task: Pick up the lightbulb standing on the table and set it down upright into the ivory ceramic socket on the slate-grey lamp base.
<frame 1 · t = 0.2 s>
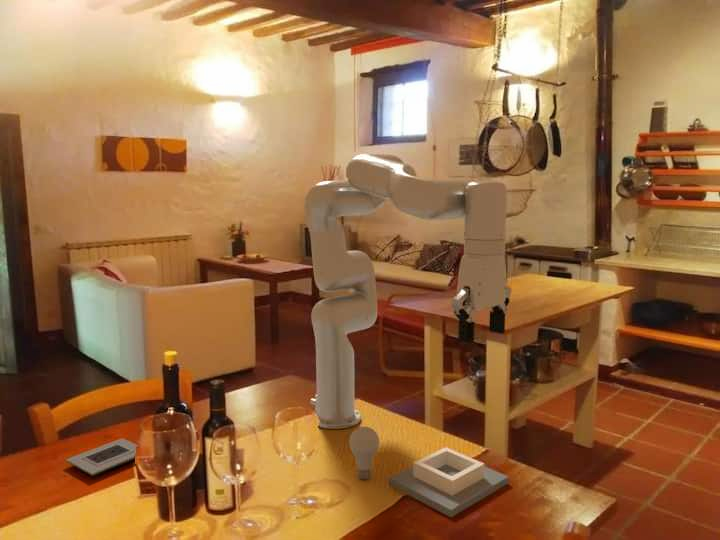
hand: (481, 336, 115), 31 cm above the table, tool pointing down, fingers open, 9 cm apart
lamp base: (448, 483, 121), on the table
electrical outlet: (108, 464, 131), on the table
lightbulb: (364, 479, 123), on the table
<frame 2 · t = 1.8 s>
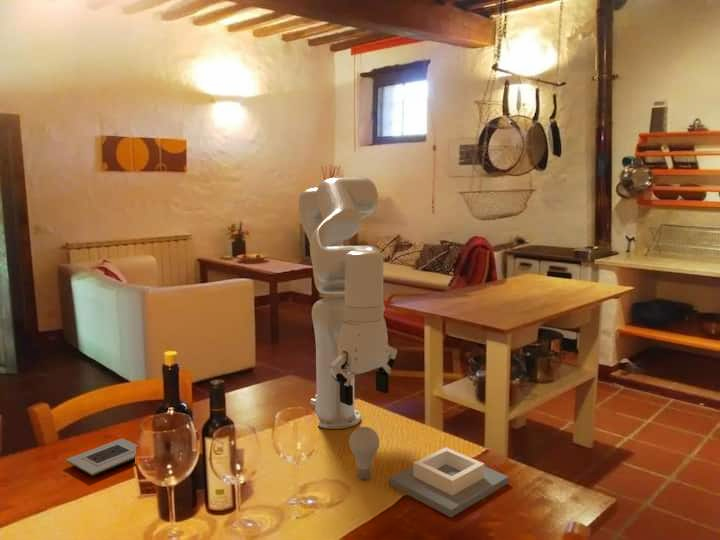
hand: (364, 397, 120), 18 cm above the table, tool pointing down, fingers open, 9 cm apart
nothing on the table moved.
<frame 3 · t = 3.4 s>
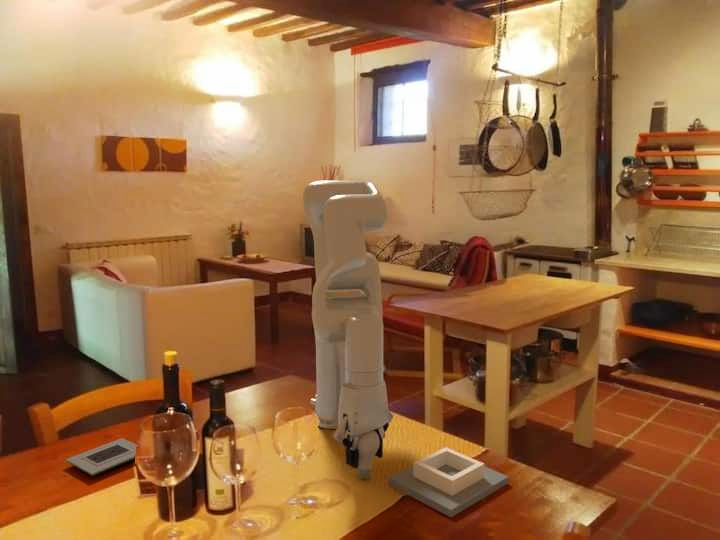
hand: (364, 459, 123), 4 cm above the table, tool pointing down, fingers closed on lightbulb, 6 cm apart
lightbulb: (364, 479, 123), on the table, touching gripper
everything else where it was.
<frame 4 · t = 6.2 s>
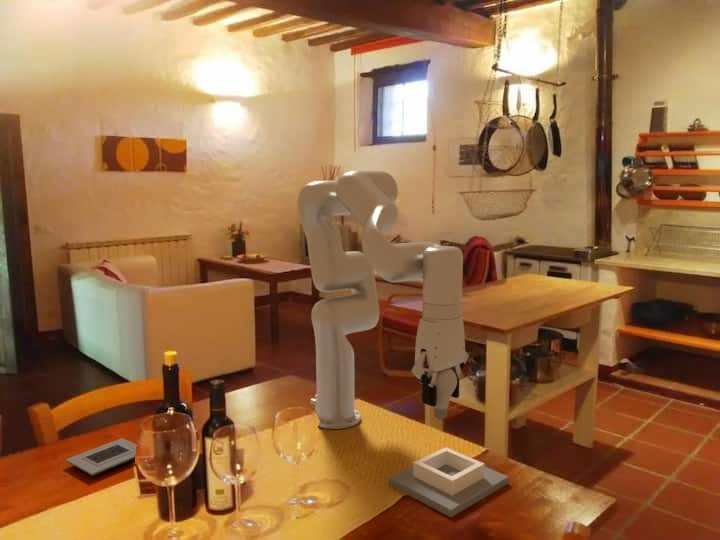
hand: (440, 399, 118), 18 cm above the table, tool pointing down, fingers closed on lightbulb, 6 cm apart
lightbulb: (440, 420, 119), point 13 cm above the table, touching gripper
everything else where it was.
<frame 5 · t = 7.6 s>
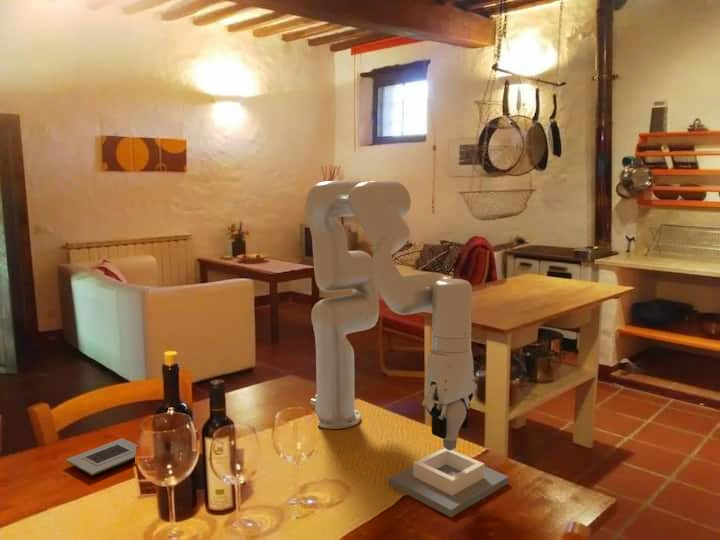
hand: (450, 430, 119), 11 cm above the table, tool pointing down, fingers closed on lightbulb, 6 cm apart
lightbulb: (449, 450, 120), point 7 cm above the table, touching gripper
everything else where it was.
when the fingers open (6 cm above the table, at t = 8.9 s): lightbulb stays where it is, resting on lamp base.
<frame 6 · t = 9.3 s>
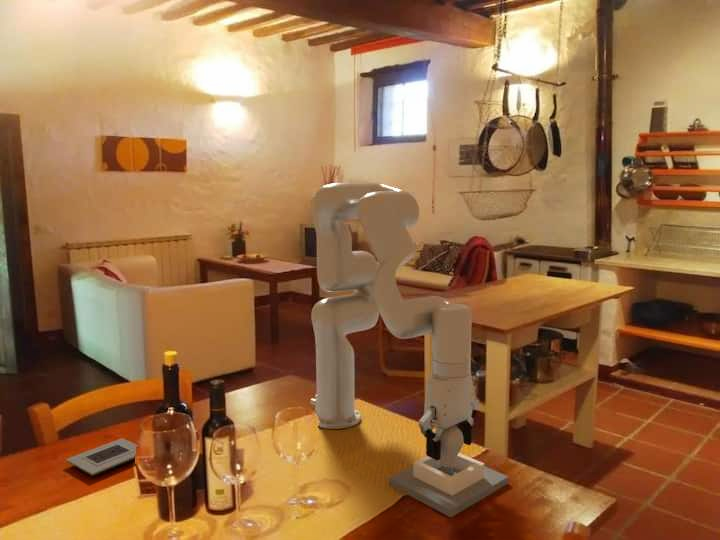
hand: (449, 450, 120), 7 cm above the table, tool pointing down, fingers open, 9 cm apart
lightbulb: (447, 477, 121), point 1 cm above the table, touching lamp base
everything else where it was.
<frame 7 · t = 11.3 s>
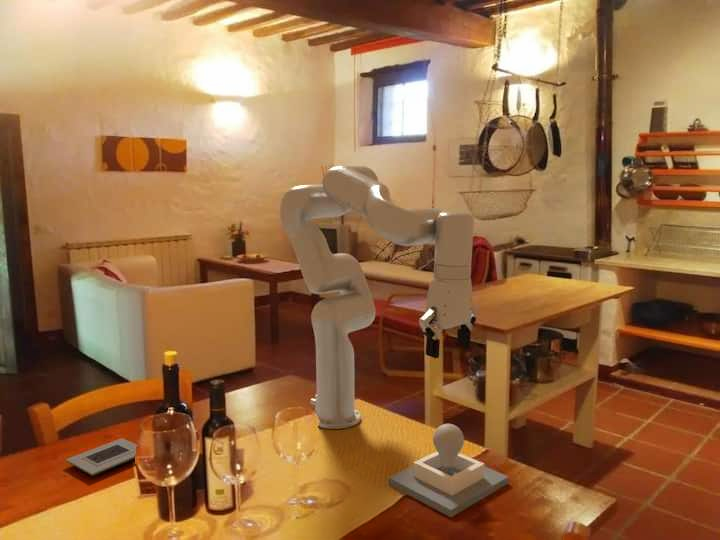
hand: (448, 352, 127), 25 cm above the table, tool pointing down, fingers open, 9 cm apart
nothing on the table moved.
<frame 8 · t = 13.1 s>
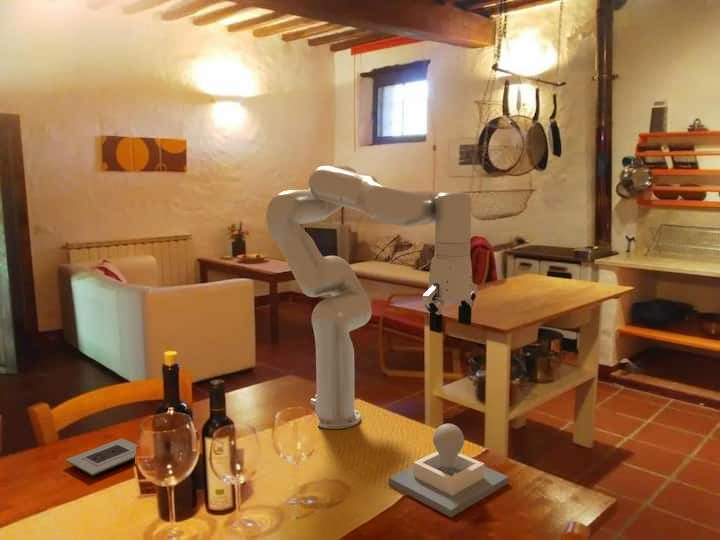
hand: (450, 327, 132), 28 cm above the table, tool pointing down, fingers open, 9 cm apart
nothing on the table moved.
at the end: lightbulb 0.2 cm off-centre on the lamp base, point 1.3 cm above the lamp base's base; lightbulb tilted 0°; the gripper is holding nothing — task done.
